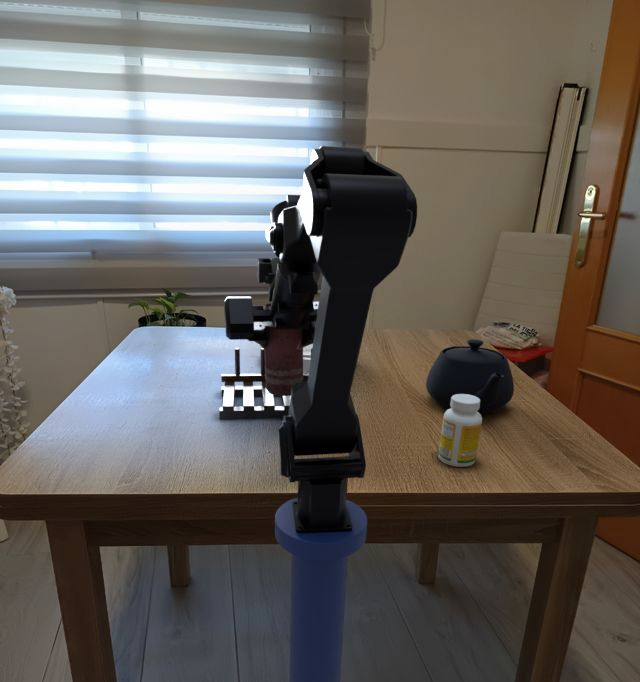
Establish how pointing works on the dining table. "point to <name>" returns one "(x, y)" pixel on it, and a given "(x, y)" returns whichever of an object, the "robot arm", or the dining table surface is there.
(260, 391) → the dish rack
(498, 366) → the teapot
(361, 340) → the robot arm
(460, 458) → the supplement bottle
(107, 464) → the dining table surface
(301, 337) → the can
